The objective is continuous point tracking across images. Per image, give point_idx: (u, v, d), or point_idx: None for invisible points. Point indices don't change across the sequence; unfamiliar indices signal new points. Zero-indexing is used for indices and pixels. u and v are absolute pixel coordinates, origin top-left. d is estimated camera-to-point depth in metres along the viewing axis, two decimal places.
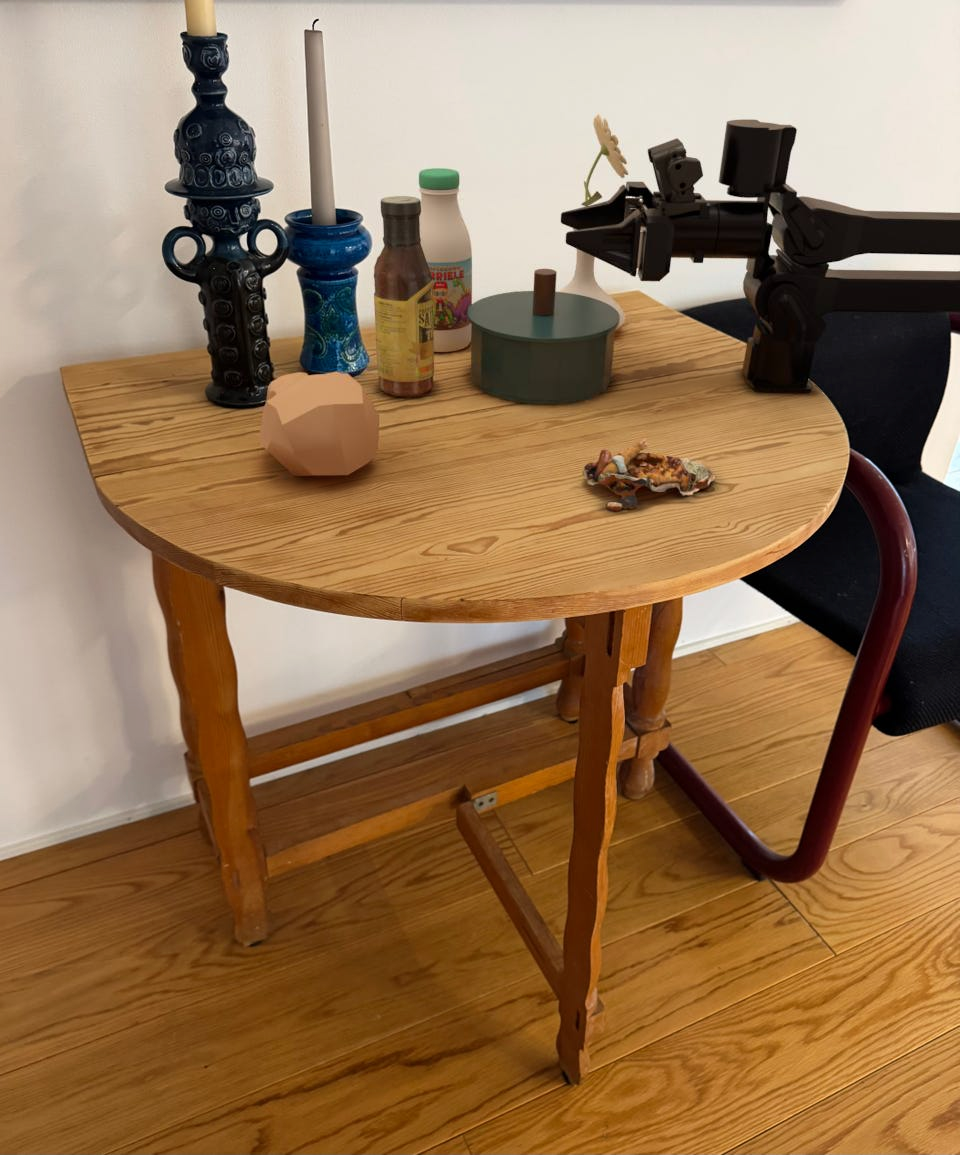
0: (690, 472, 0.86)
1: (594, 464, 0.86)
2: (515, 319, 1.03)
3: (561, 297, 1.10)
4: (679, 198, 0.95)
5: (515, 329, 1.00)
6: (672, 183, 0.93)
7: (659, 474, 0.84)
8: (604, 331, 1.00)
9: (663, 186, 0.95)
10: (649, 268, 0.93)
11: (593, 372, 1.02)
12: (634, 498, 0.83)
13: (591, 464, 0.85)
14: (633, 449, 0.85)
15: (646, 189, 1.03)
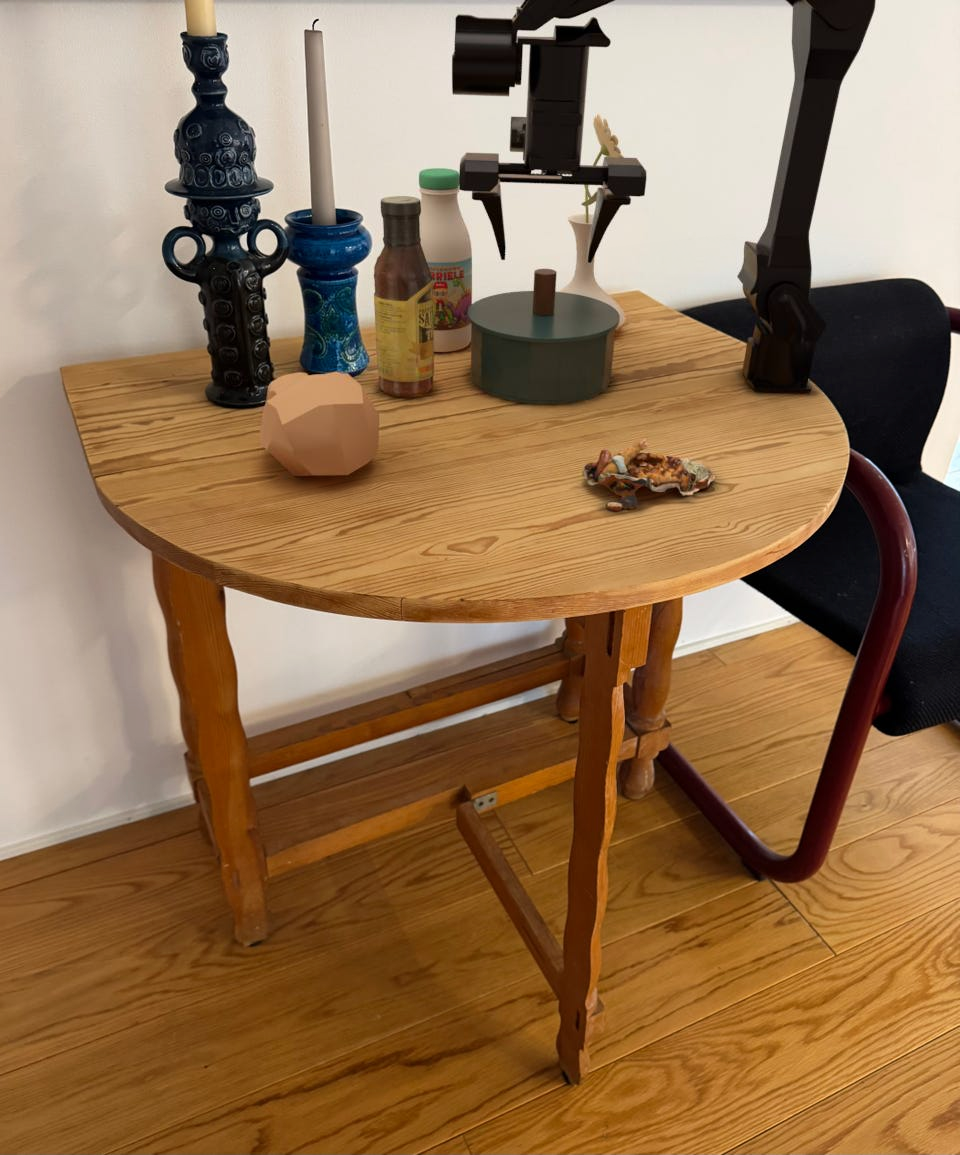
0: (690, 472, 0.86)
1: (594, 464, 0.86)
2: (515, 319, 1.03)
3: (561, 297, 1.10)
4: None
5: (515, 329, 1.00)
6: (510, 147, 1.00)
7: (659, 474, 0.84)
8: (604, 331, 1.00)
9: None
10: None
11: (593, 372, 1.02)
12: (634, 498, 0.83)
13: (591, 464, 0.85)
14: (633, 449, 0.85)
15: None
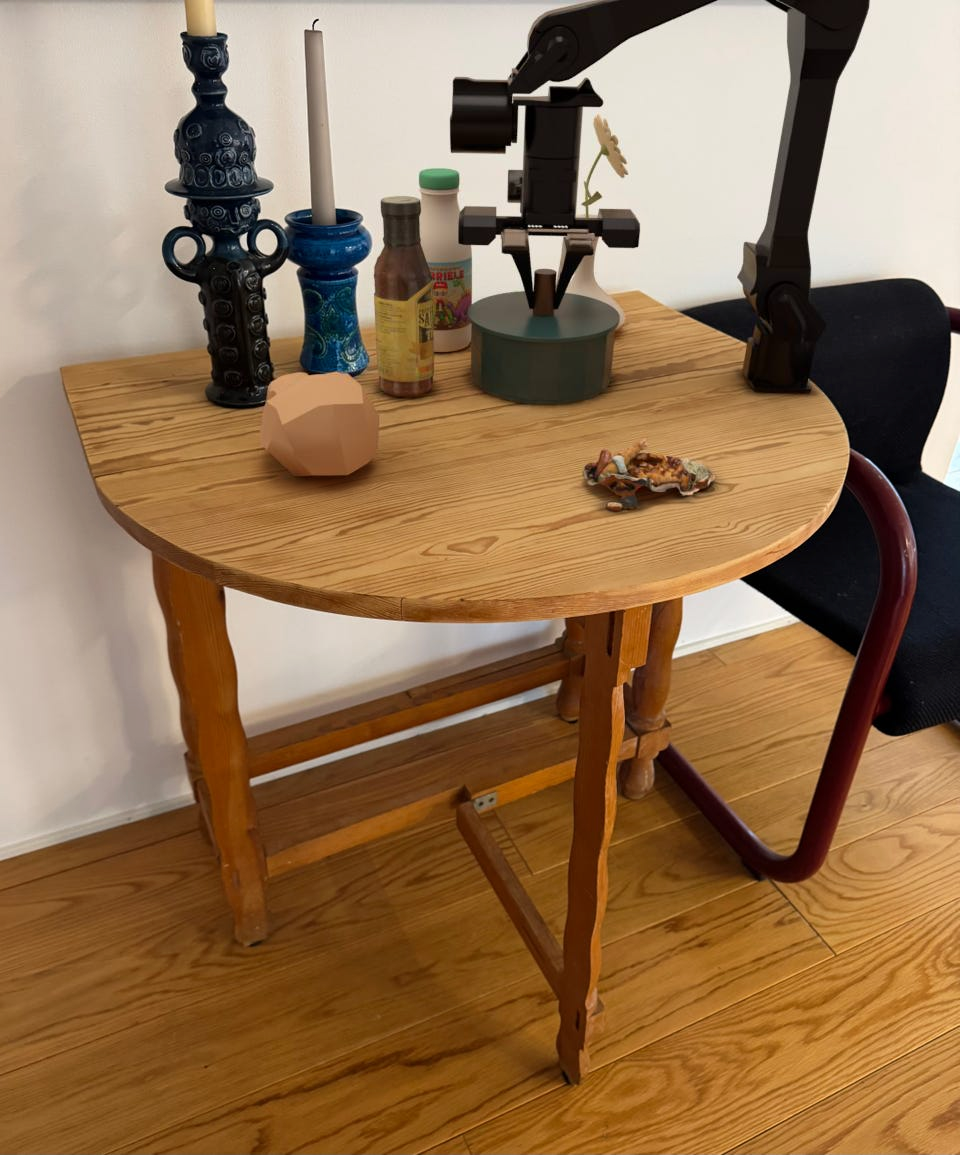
0: (690, 472, 0.86)
1: (594, 464, 0.86)
2: (515, 319, 1.03)
3: None
4: None
5: (515, 329, 1.00)
6: (507, 199, 1.03)
7: (659, 474, 0.84)
8: (604, 331, 1.00)
9: None
10: None
11: (593, 372, 1.02)
12: (634, 498, 0.83)
13: (591, 464, 0.85)
14: (633, 449, 0.85)
15: None
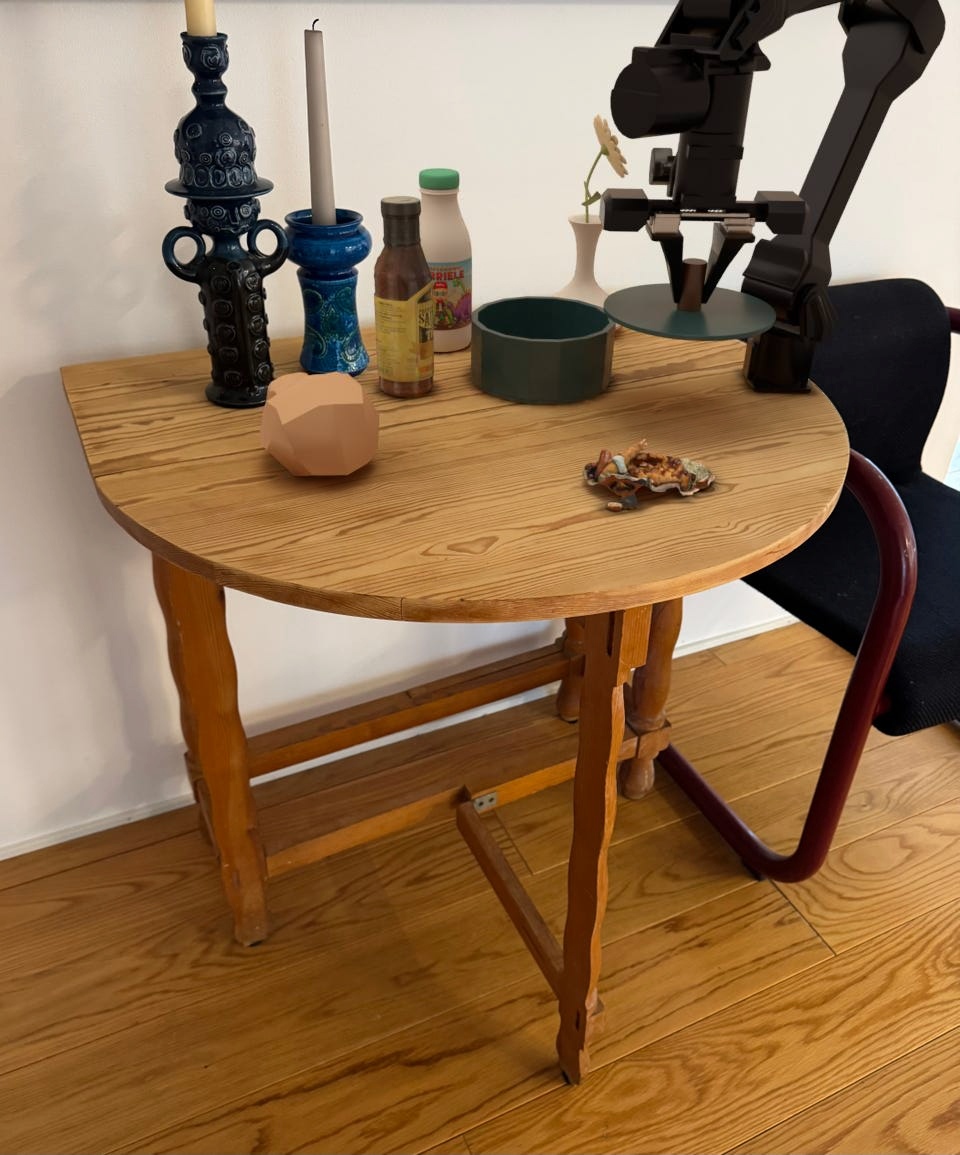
0: (690, 472, 0.86)
1: (594, 464, 0.86)
2: (660, 315, 0.92)
3: None
4: None
5: (665, 326, 0.89)
6: (651, 181, 0.92)
7: (659, 474, 0.84)
8: (764, 328, 0.89)
9: None
10: (603, 220, 0.88)
11: (593, 372, 1.02)
12: (634, 498, 0.83)
13: (591, 464, 0.85)
14: (633, 449, 0.85)
15: (754, 199, 0.91)
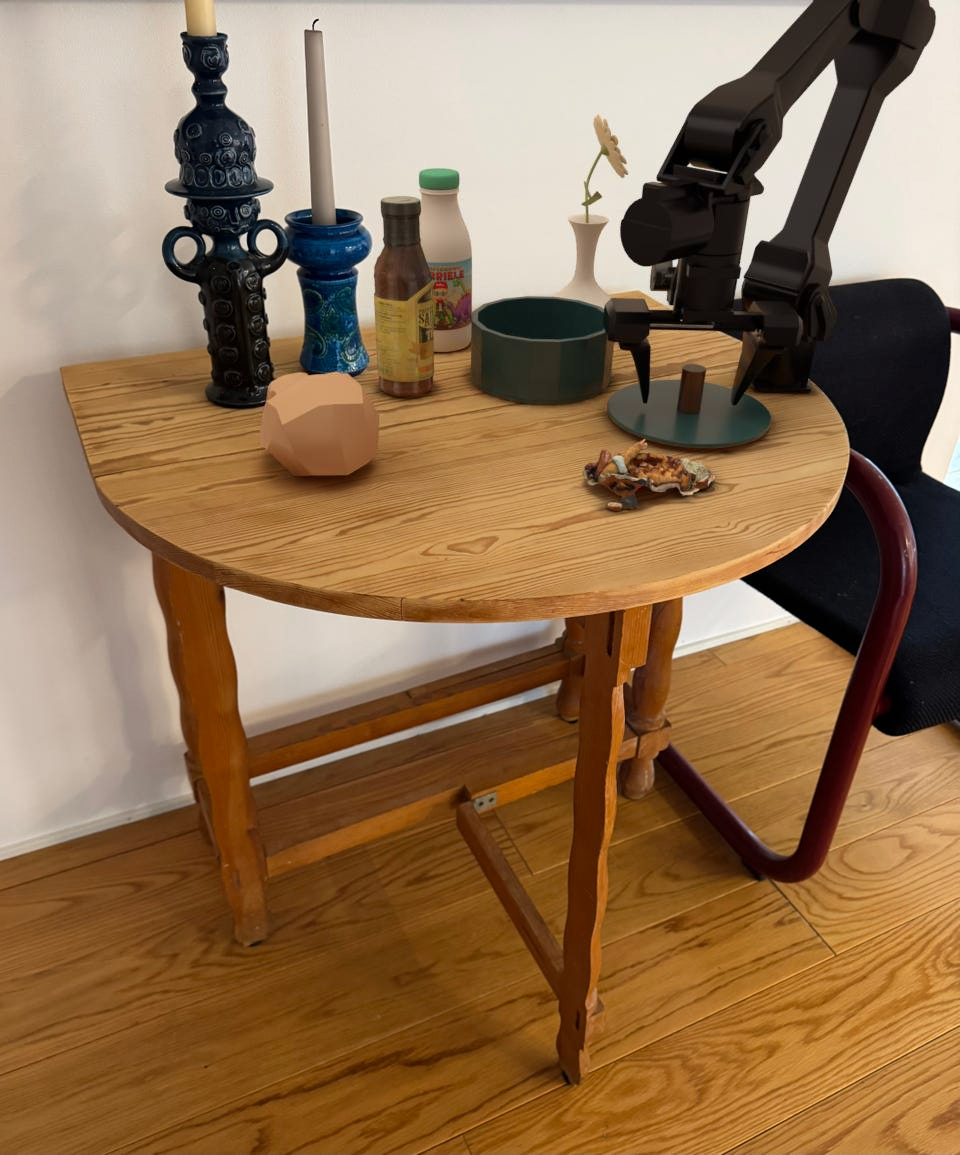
0: (690, 472, 0.86)
1: (594, 464, 0.86)
2: (662, 418, 0.97)
3: None
4: None
5: (666, 432, 0.94)
6: (652, 288, 0.97)
7: (659, 474, 0.84)
8: (760, 433, 0.94)
9: None
10: (607, 331, 0.93)
11: (593, 372, 1.02)
12: (634, 498, 0.83)
13: (591, 464, 0.85)
14: (633, 450, 0.85)
15: (750, 308, 0.96)
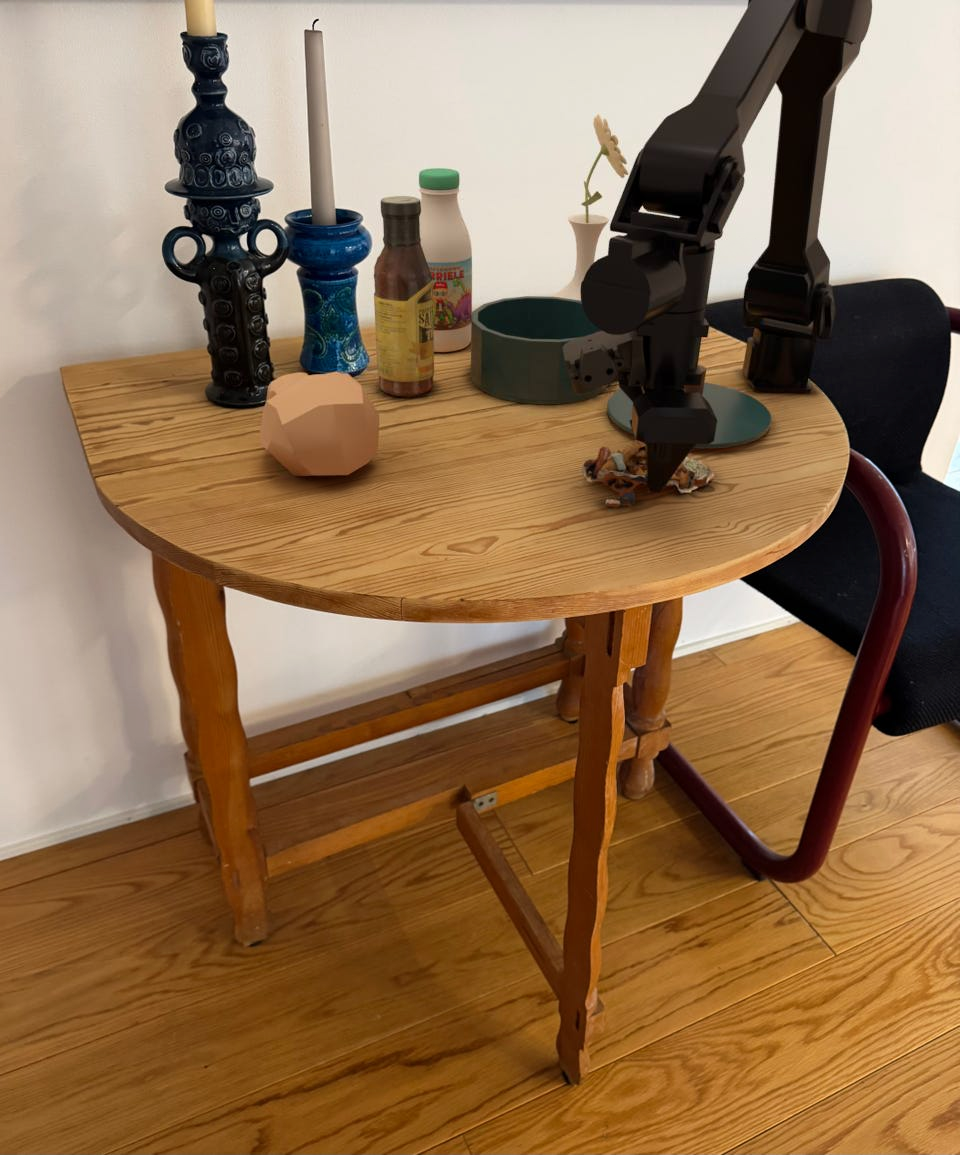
0: (689, 470, 0.86)
1: (593, 461, 0.86)
2: None
3: None
4: (626, 363, 0.78)
5: None
6: (606, 383, 0.77)
7: None
8: (760, 433, 0.94)
9: None
10: (698, 436, 0.74)
11: None
12: (632, 495, 0.83)
13: (590, 461, 0.86)
14: (633, 447, 0.86)
15: None
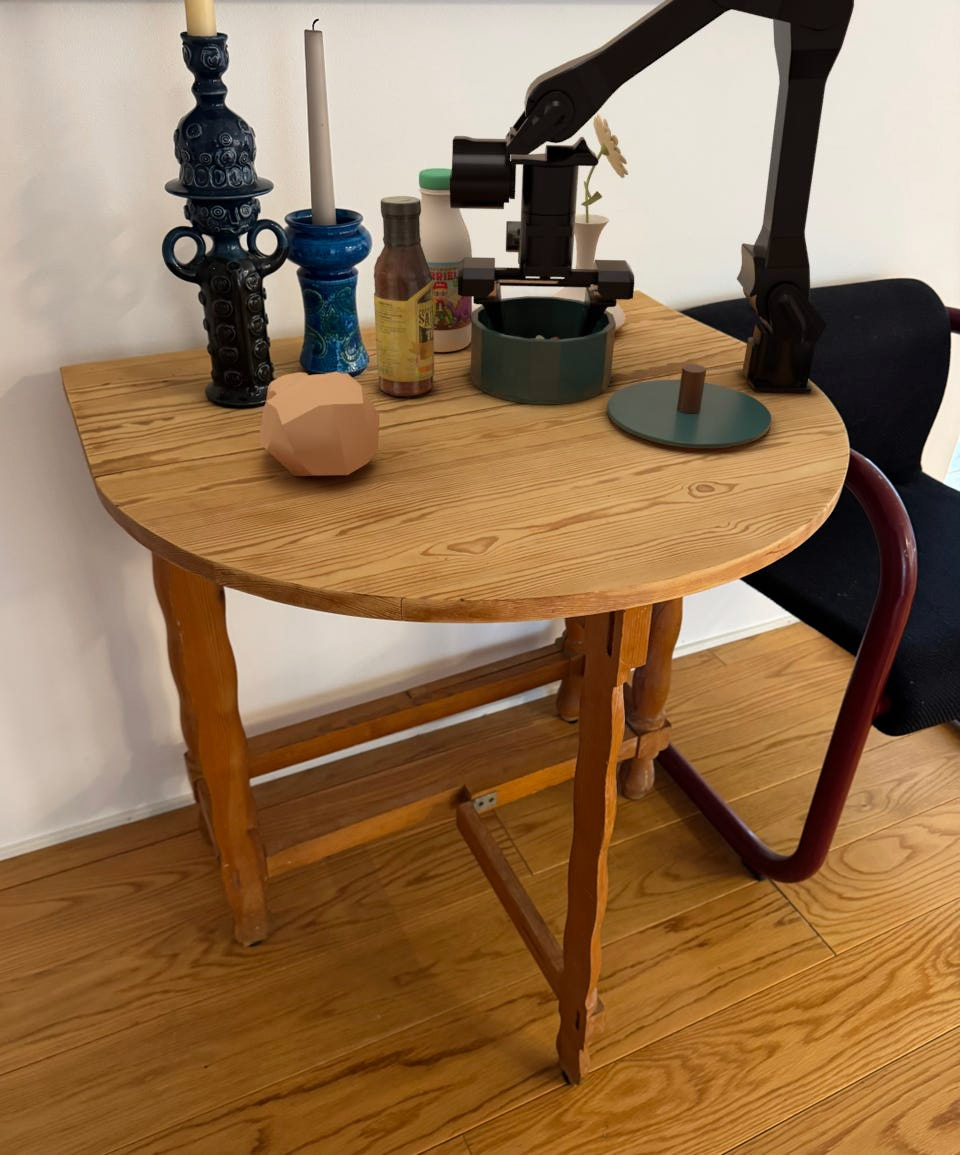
0: None
1: None
2: (662, 418, 0.97)
3: None
4: None
5: (666, 432, 0.94)
6: (506, 249, 1.06)
7: None
8: (760, 433, 0.94)
9: None
10: None
11: (593, 372, 1.02)
12: None
13: None
14: None
15: (593, 266, 1.05)
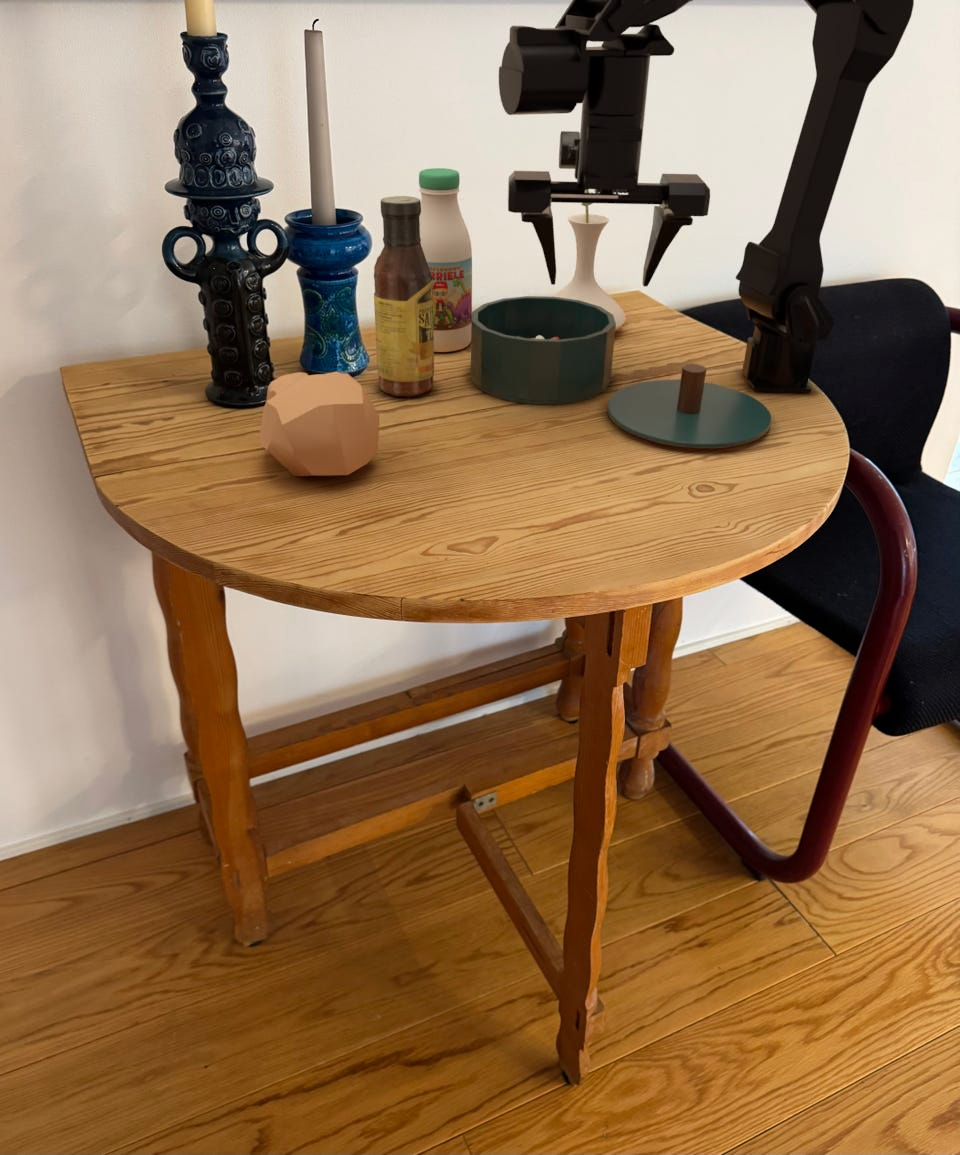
0: None
1: None
2: (662, 418, 0.97)
3: None
4: None
5: (666, 432, 0.94)
6: (560, 164, 0.94)
7: None
8: (760, 433, 0.94)
9: None
10: None
11: (593, 372, 1.02)
12: None
13: None
14: None
15: (660, 182, 0.92)
